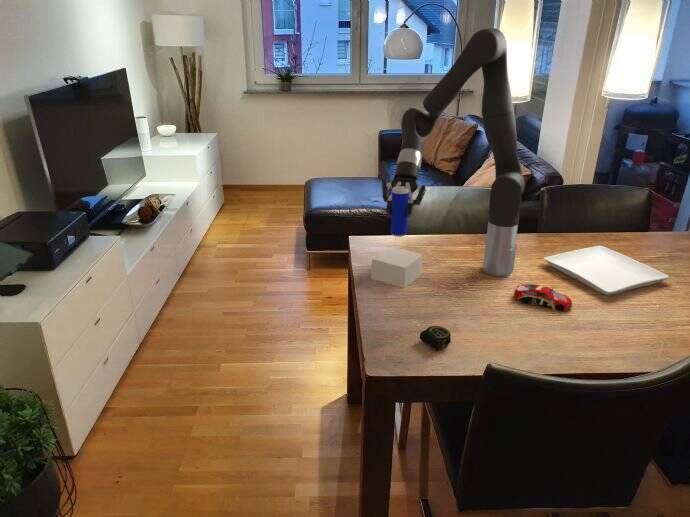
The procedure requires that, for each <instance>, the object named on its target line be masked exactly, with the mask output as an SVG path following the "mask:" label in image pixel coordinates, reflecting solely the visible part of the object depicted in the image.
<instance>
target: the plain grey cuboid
mask: <svg viewBox="0 0 690 517" xmlns="http://www.w3.org/2000/svg"><path fill="white" fill-rule="evenodd" d="M423 258H424V257H423V254H422V253H417V252H413V251H410V250H405V249H401V248H398V247H392V246H389V247H387V248H386V249H385V250H382V251H381V252H380V253H378V254H377V255H376V256H374V257H373V258H371V273H370V274H371V275H370V276H371V277H370V278H371V279H372V280H375V281H379V282H382V283H385V284H388V285H392V286H395V287H399V288H403V289H405V288H406V287H408V286H409V285H410V284H412V282H414V281H415V280H416V279H418V278H419V277H420V275H422V270H423V269H422V268H423Z"/></svg>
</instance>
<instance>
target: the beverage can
mask: <svg viewBox="0 0 690 517" xmlns="http://www.w3.org/2000/svg"><path fill="white" fill-rule="evenodd" d="M391 192H392V203H391V215H390V232H389V233H390V234H391V235H392V236H393V237H395V238H396V237H399V238H401V237H405V236H406V235H407V234H408V222H409V221H408V219H409V217H406V211H407V206H408V203H409V190H408V188H407V187H404V186H396V187H393V188H392V190H391Z"/></svg>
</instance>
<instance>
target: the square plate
mask: <svg viewBox="0 0 690 517" xmlns="http://www.w3.org/2000/svg"><path fill="white" fill-rule="evenodd" d="M543 260H545V262H546V263H547V264H548V265H550V266H551V267H552V268H554V269H557V270H558V271H560V272H562V273H563V274H566V275H567V276H569V277H571V278H573V279H575V280H577V281H578V282H580V283H583V284H584V285H585V286H588V287H590V288H591V289H593V290H595V291H597V292H599V293H601V294H604V295H605V296H610V295H615V294H618V293H622V292H625V291H629V290H633V289H637V288H641V287H642V288H643V287H646V286H651V285H654V284H658V283H662V282H664V281H666V280H668V279H670V276H669V275H668V274H665V273H664V272H661V271H659V270H657V269H655V268H653V267H651V266H649V265H647V264H644V263H642V262H641V261H637V259H636V260H635V259H633V258H632V257H630V256H627V255H625V254H623V253H619V252H617V251H616V250H612V249H611V248H608V247H605V246H602V245H594V246H590V247H585V248H580V249H575V250H569V251H567V252H562V253H558V254H554V255H550V256H545V257H543Z"/></svg>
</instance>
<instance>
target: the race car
mask: <svg viewBox="0 0 690 517" xmlns="http://www.w3.org/2000/svg"><path fill="white" fill-rule="evenodd" d="M513 298H514V299H515V300H516V301H518V302H521V303H522V304H525V305H528V304H529V305H533V306H538V307H542V308H547V309H551V310H556V312H563V311H568V310H570V309H571V308H572V306H573V302H572V301H573V300H572V299H571V298H570V297H569V296H568V295H566V294H563V293H561V292H557V291H555V290H554V289H553V288H550V287H548V286H545V285H542V284H535V283H534V284H532V283H528V284H517V286H516V289H515V290H514V292H513Z"/></svg>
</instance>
